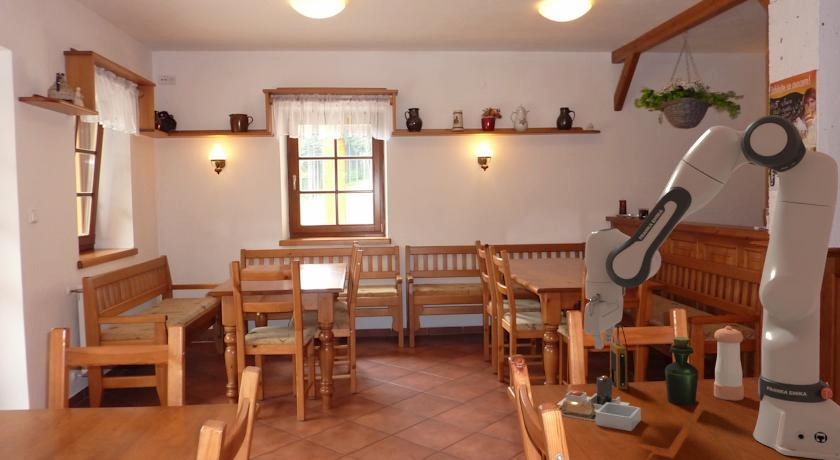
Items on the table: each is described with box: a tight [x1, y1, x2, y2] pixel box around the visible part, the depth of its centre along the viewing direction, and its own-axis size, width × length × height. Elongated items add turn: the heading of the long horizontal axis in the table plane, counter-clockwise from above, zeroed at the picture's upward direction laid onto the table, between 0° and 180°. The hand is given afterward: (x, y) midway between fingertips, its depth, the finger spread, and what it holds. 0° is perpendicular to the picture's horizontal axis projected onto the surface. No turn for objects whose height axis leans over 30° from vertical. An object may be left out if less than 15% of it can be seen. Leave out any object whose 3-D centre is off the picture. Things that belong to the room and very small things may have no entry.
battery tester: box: [556, 390, 631, 411], centre depth 164 cm, size 16×10×4 cm, turn 56°
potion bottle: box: [664, 336, 699, 407], centre depth 164 cm, size 8×8×18 cm
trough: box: [558, 405, 596, 423], centre depth 157 cm, size 11×6×2 cm, turn 56°
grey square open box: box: [595, 402, 642, 432], centre depth 151 cm, size 8×8×4 cm
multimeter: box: [607, 322, 630, 393], centre depth 179 cm, size 15×10×20 cm
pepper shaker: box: [713, 325, 745, 401], centre depth 172 cm, size 7×7×19 cm
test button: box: [570, 389, 583, 396], centre depth 167 cm, size 3×3×2 cm
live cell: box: [561, 400, 596, 419], centre depth 157 cm, size 8×4×4 cm, turn 56°
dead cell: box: [596, 375, 613, 405], centre depth 162 cm, size 4×4×8 cm
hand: (604, 345), depth 162 cm, fingers open, 6 cm apart
